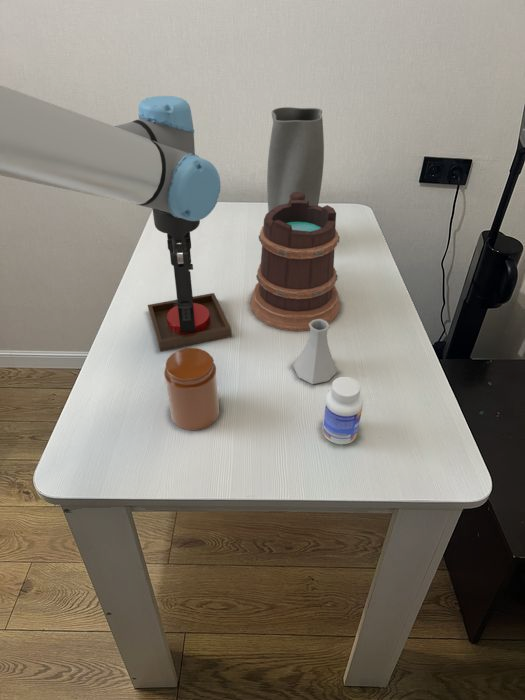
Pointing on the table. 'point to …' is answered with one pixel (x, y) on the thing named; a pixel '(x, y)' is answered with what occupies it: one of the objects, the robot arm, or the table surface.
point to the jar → (192, 388)
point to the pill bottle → (342, 411)
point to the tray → (174, 340)
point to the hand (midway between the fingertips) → (187, 315)
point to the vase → (295, 155)
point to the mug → (297, 266)
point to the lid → (199, 315)
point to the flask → (316, 355)
